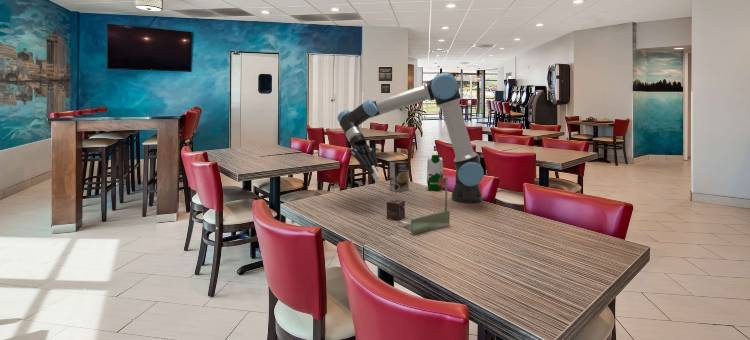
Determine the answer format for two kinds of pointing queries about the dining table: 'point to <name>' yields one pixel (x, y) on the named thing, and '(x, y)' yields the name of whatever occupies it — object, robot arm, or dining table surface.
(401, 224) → the green bar with posts
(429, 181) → the milk carton
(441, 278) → the dining table surface
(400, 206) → the box
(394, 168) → the coffee box
